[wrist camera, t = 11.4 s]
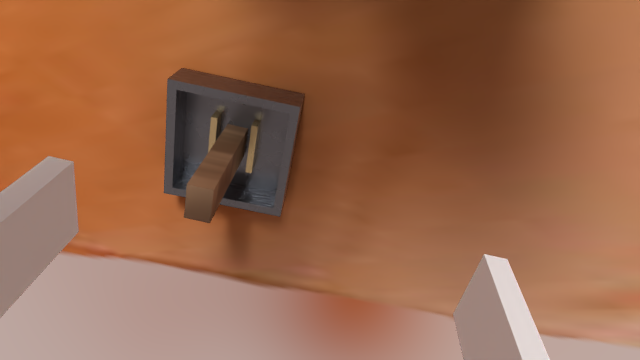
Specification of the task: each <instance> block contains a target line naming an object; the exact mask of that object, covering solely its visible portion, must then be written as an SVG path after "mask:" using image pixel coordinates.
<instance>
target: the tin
mask: <svg viewBox="0 0 640 360" xmlns="http://www.w3.org/2000/svg"><path fill="white" fill-rule="evenodd" d="M304 95H305V94H302V93H297V92H292V91H288V90H283V89H278V88H274V87H269V86H264V85H259V84H255V83H250V82H245V81H241V80H236V79H231V78H227V77H222V76H217V75H213V74H208V73H203V72H199V71H194V70H189V69H184V68H181V69H180V70H179V71H177V72H176V73H175V74H173V75H172V76H171V77H169V78H168V83H167V114H166V145H165V176H164V193H167V194H172V195H177V196H182V197H186V188H187V183H188V182H189V180H190V179H191V177H192V176H193V174H194V173H195V171H196V170H197V168H198V167H199V166H200V164H201V163H202V161H203V160H204V158H205V157H206V155H207V154H208V152H209V151H210V149H211V148H212V146H213V145H214V143H215V142H216V140H217V139H218V138H219V136H220V135H221V133H222V132H223V130H224V129H225V127H226V126H227V124H230V125H235V126H239V127H244V128H248V133H247V139H246V146H245V153H244V157H243V159H242V161H241V163H240V165H239V167H238V169H237V171H236V173H235V175H234V177H233V179H232V181H231V183H230V184H229V186H228V188H227V190H226V192H225V194H224V196H223V198H222V200H221V202H220V204H221V205H226V206H230V207H235V208H240V209H245V210H250V211H255V212H260V213H265V214H270V215H274V216H279V217H280V215H281V212H282V208H283V204H284V201H285V197H286V191H287V186H288V180H289V175H290V170H291V164H292V159H293V154H294V148H295V143H296V138H297V132H298V127H299V121H300V116H301V111H302V105H303V100H304Z"/></svg>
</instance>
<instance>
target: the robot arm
mask: <svg viewBox="0 0 640 360" xmlns="http://www.w3.org/2000/svg"><path fill="white" fill-rule="evenodd" d="M78 232H79V231H78V217H77V204H76V190H75V176H74V163H73V161H68V160H64V159H60V158H55V157H51V156H48V157H47V158H45V159H44V160H43V161H41V162H40V163H39V164H37V165H36V166H35V167H33V168H32V169H31V170H29V171H28V172H27V173H25V174H24V175H23V176H21V177H20V178H19V179H18V180H16V181H15V182H14V183H12V184H11V185H10V186H8V187H7V188H6V189H4V190H3V191H2V192H0V318H1V317H2V316H3V314H4V313H5V312H6V311H7V310H8V309H9V308H10V307H11V306H12V304H13V303H14V302H15V301H16V300H17V299H18V298H19V297H20V296H21V295H22V294H23V292H24V291H25V290H26V289H27V288H28V287H29V286H30V285H31V284H32V282H33V281H34V280H35V279H36V278H37V277H38V276H39V275H40V273H42V271H43V270H44V269H45V268H46V267H47V266H48V265H49V264H50V262H52V260H53V259H54V258H55V257H56V256H57V255H58V254H59V253H60V252H61V251H62V249H63V248H64V247H65V246H66V245H67V244H68V243H69V242H70V241H71V240H72V238H73V237H74V236H75V235H76V234H77V233H78ZM453 316H454V320H455V324H456V329H457V333H458V337H459V341H460V346H461V350H462V355H463V359H464V360H550V359H549V357H548V354H547V352H546V349H545V347H544V345H543V342H542V340H541V338H540V335H539V333H538V331H537V328H536V326H535V323H534V321H533V319H532V316H531V314H530V312H529V309H528V307H527V305H526V302H525V300H524V298H523V295H522V293H521V290H520V288H519V286H518V283H517V281H516V279H515V276H514V274H513V272H512V269H511V267H510V265H509V262H508V260H507V259H504V258H500V257H495V256H491V255H486V254H484V255H483V257H482V259H481V261H480V263H479V265H478V267H477V269H476V271H475V273H474V275H473V276H472V278H471V280H470V282H469V284H468V286H467V288H466V290H465V292H464V294H463V296H462V298H461V300H460V302H459V303H458V305H457V307H456V309H455V311H454V313H453Z"/></svg>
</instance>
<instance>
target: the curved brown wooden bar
mask: <svg viewBox="0 0 640 360" xmlns="http://www.w3.org/2000/svg"><path fill="white" fill-rule="evenodd" d="M247 133H248V128H244V127H239V126H235V125H230V124H227V126H226V127H225V129H224V130H223V132H222V133H221V135H220V136H219V138H218V139H217V140H216V142H215V143H214V145H213V146H212V148H211V149H210V151H209V152H208V154H207V155H206V157H205V158H204V160H203V161H202V163H201V164H200V166H199V167H198V168H197V170H196V171H195V173H194V174H193V176H192V177H191V179H190V180H189V182H188V183H187V188H186V200H185V212H184V218H188V219H193V220H198V221H202V222H207V223H210V222H211V220H212V218H213V216H214V214H215V212H216V210H217V208H218V206H219V204H220V202H221V200H222V198H223V196H224V194H225V192H226V190H227V188H228V186H229V184H230V183H231V181H232V179H233V177H234V175H235V173H236V171H237V169H238V167H239V165H240V163H241V161H242V159H243V157H244V153H245V146H246V139H247Z"/></svg>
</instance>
